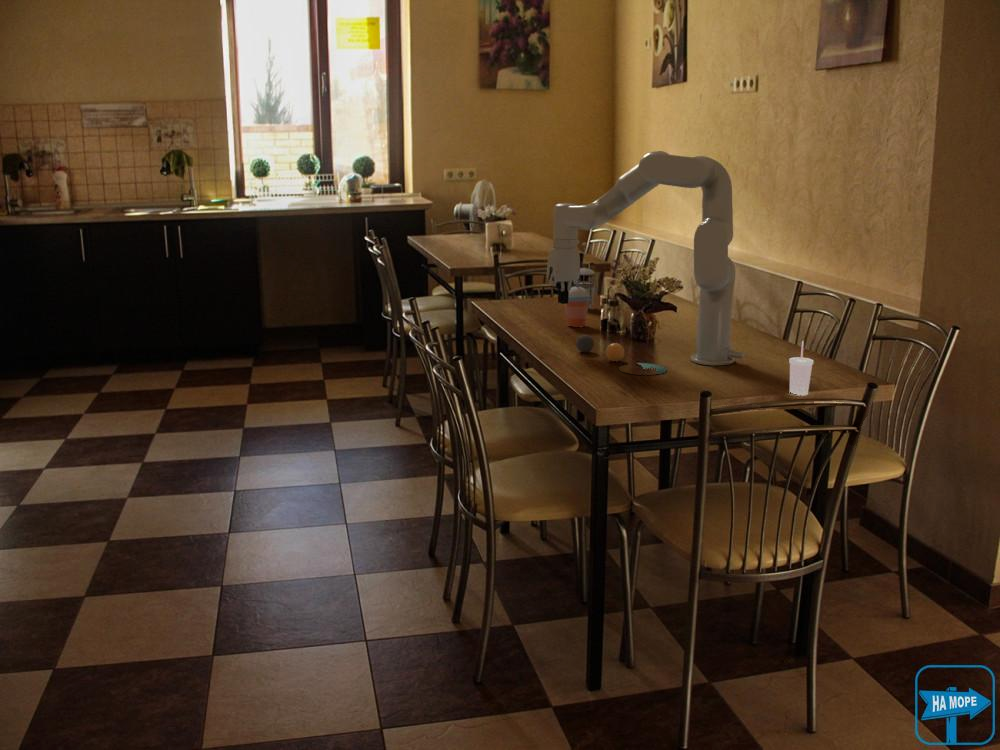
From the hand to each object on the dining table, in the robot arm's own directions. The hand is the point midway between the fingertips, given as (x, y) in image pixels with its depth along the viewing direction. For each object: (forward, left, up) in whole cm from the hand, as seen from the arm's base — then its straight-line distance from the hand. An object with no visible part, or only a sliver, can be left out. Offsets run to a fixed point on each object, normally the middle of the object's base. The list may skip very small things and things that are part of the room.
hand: (562, 303), depth 304 cm
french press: (+17, -64, -14) cm, 68 cm away
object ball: (-21, +11, -11) cm, 26 cm away
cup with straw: (+8, -32, -14) cm, 36 cm away
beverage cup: (-76, +23, -14) cm, 81 cm away
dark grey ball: (-9, +4, -11) cm, 15 cm away
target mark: (-32, +17, -14) cm, 38 cm away
